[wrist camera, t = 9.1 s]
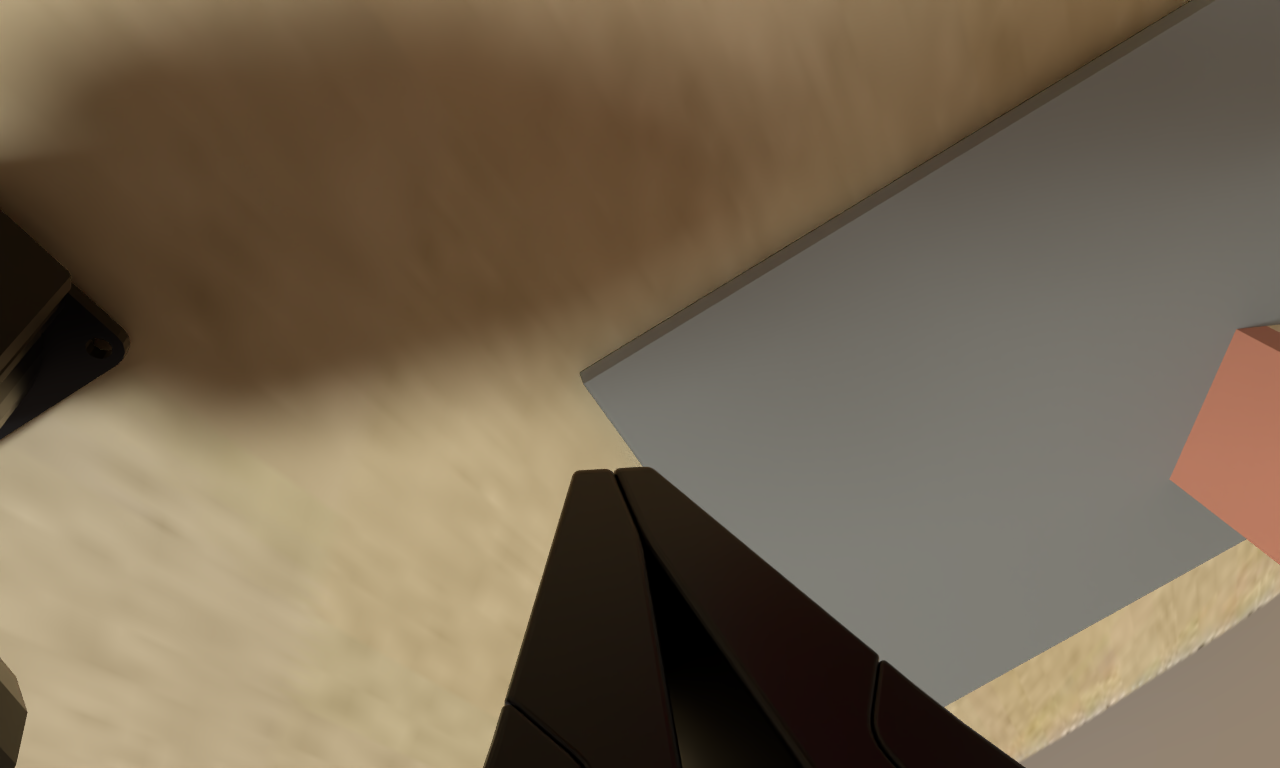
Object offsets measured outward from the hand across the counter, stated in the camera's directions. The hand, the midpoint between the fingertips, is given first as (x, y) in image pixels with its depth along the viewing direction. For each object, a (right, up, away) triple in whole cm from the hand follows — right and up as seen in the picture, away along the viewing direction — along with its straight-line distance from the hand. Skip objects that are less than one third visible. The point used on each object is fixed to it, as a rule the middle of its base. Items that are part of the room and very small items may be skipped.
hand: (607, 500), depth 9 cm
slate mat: (+15, +1, +18) cm, 24 cm away
